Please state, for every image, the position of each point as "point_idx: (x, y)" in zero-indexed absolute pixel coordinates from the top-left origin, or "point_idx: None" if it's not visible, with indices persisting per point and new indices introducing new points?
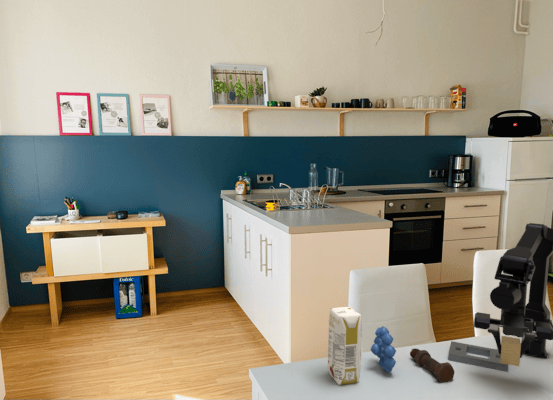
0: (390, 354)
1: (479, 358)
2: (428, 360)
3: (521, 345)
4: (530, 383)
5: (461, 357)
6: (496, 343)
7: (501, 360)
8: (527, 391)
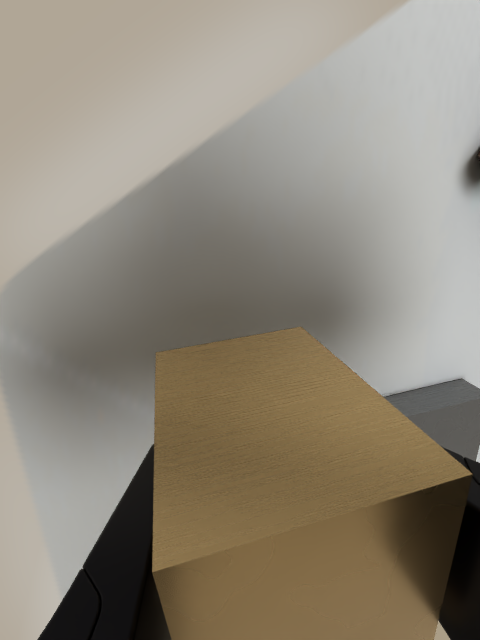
0: None
1: None
2: None
3: (155, 597)
4: (102, 384)
5: (433, 404)
6: (459, 454)
7: (304, 337)
8: (98, 276)
